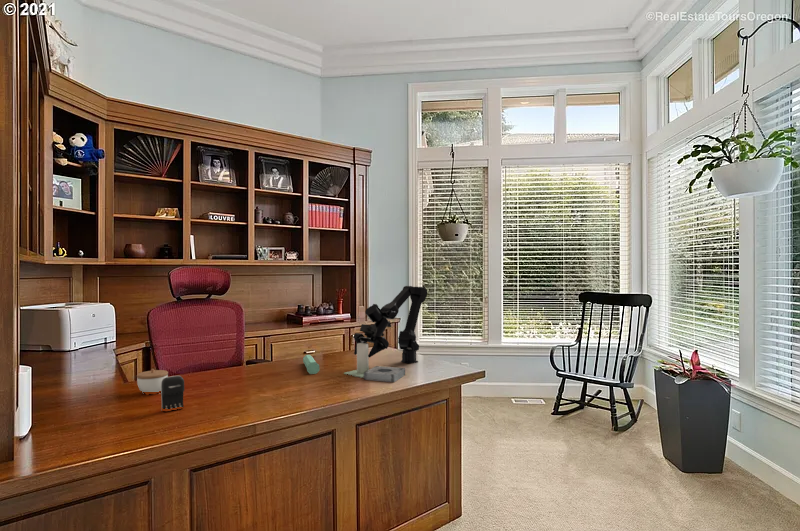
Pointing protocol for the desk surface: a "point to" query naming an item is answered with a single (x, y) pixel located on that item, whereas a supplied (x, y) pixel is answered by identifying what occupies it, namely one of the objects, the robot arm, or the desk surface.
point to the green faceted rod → (310, 364)
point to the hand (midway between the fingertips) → (361, 355)
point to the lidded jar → (151, 380)
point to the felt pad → (355, 374)
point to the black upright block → (172, 392)
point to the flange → (384, 374)
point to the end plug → (362, 358)
